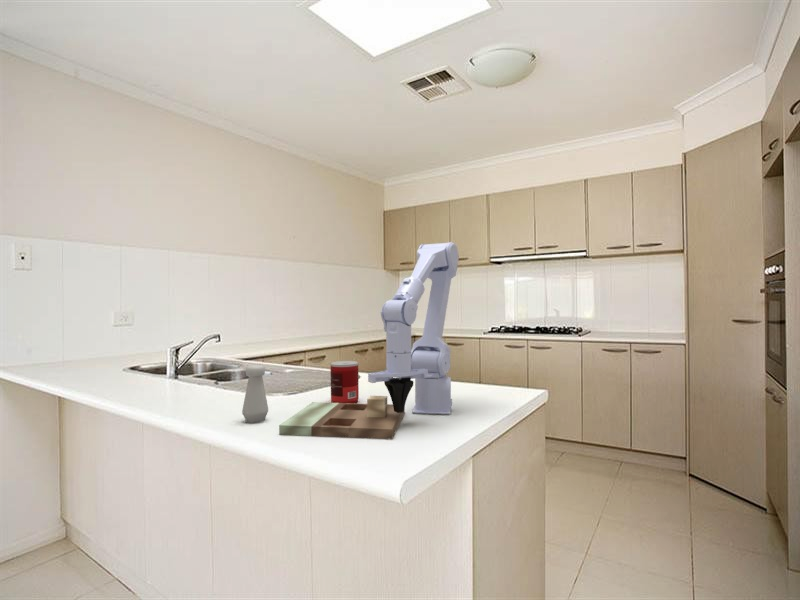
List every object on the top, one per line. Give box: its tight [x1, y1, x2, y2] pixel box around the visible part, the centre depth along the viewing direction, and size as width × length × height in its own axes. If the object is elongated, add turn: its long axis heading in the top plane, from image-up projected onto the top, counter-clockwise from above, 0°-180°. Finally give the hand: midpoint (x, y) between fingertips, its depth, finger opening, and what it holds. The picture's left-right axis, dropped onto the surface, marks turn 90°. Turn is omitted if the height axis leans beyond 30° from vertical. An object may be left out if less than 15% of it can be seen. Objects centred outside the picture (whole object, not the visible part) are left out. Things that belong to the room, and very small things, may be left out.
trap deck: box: [278, 401, 406, 440], centre depth 103 cm, size 24×22×2 cm
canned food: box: [330, 360, 360, 403], centre depth 125 cm, size 8×8×11 cm
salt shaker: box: [241, 364, 269, 424], centre depth 105 cm, size 6×6×13 cm
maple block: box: [366, 395, 388, 418], centre depth 103 cm, size 4×4×4 cm
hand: (398, 411), depth 102 cm, fingers closed
